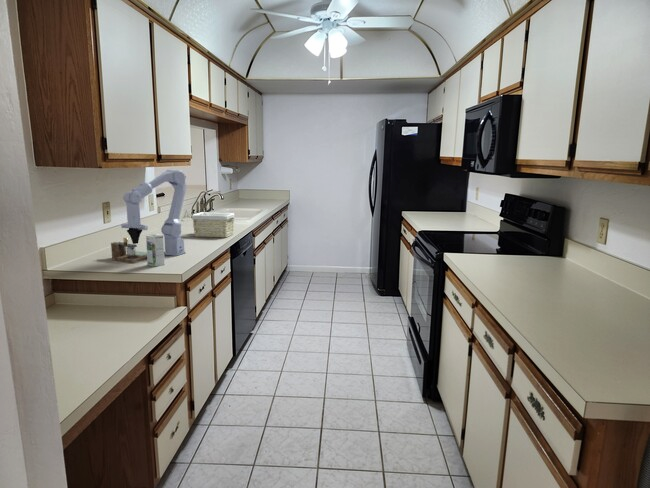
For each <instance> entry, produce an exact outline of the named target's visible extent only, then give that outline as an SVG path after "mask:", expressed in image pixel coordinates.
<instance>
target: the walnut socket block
mask: <svg viewBox="0 0 650 488" xmlns="http://www.w3.org/2000/svg"><path fill="white" fill-rule="evenodd" d="M111 243H112V244H111ZM111 243H110V246H111V247H110V248H111V249H110V250H111V258H112V260H114V261H116V262H124V263H130V264H134V263H138V262H141V261H145V260H147V255H145V256H142V255H136V258H133V259H129V258H127V255H126V254H127V249H126V248H127V247H123V246H119V244H113V242H111ZM118 243H124V241H123V242H122V241H119V242H118Z"/></svg>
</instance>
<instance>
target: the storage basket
mask: <svg viewBox="0 0 650 488" xmlns="http://www.w3.org/2000/svg"><path fill="white" fill-rule="evenodd" d="M235 217H236V215H235V213H234V212H214V211H213V212H212V211H211V212H210V211H208V212H207V211H201V212H197V213H194V214H192V216H191V219H192V222H193V231H194V237H197V238H228V237H231V236H232V235H233V234H234V224H235V223H234V221H235Z"/></svg>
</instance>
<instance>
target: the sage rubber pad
mask: <svg viewBox="0 0 650 488" xmlns="http://www.w3.org/2000/svg"><path fill="white" fill-rule="evenodd" d="M126 255H127V253H126ZM136 255H142V256H147V251H139V250H138V251H136Z"/></svg>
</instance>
